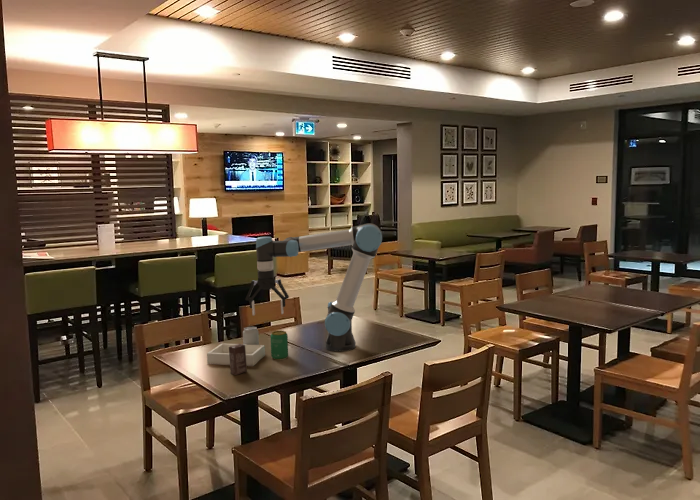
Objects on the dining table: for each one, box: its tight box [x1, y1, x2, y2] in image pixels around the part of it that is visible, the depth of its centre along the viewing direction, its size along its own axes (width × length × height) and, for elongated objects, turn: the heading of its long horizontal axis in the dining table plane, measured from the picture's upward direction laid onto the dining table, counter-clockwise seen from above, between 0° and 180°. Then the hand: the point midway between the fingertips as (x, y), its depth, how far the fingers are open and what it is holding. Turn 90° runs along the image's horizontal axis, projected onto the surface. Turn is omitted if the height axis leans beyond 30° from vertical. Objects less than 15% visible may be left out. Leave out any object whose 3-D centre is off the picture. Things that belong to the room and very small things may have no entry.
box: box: [229, 343, 248, 376], centre depth 244 cm, size 6×4×12 cm
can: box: [242, 326, 260, 345], centre depth 275 cm, size 8×8×12 cm
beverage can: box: [270, 330, 289, 361], centre depth 265 cm, size 8×8×12 cm
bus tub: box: [206, 343, 266, 367], centre depth 263 cm, size 22×16×5 cm
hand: (268, 314), depth 266 cm, fingers open, 13 cm apart
